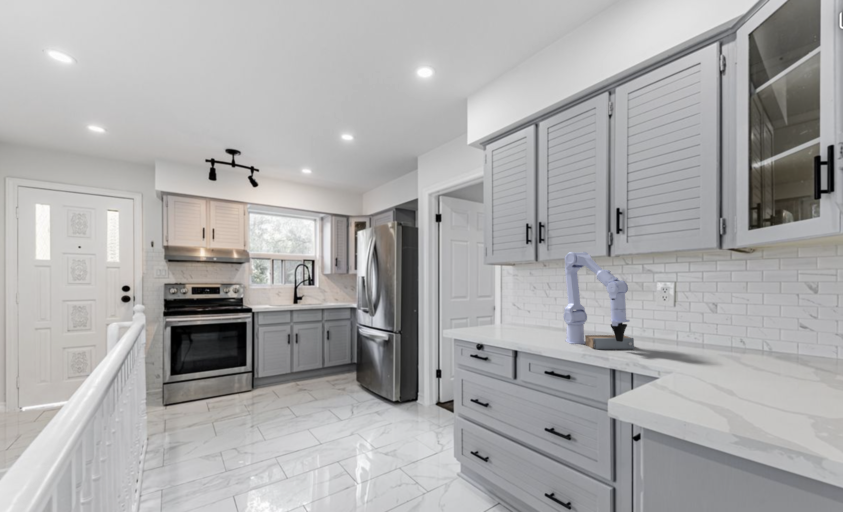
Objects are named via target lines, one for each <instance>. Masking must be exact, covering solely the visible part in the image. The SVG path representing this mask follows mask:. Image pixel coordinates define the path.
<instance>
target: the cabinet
mask: <svg viewBox="0 0 843 512" xmlns="http://www.w3.org/2000/svg"><path fill="white" fill-rule="evenodd" d="M595 338H615V334H597V335H596V334H590V335H589V334H584V341H585V342H586V344H585V346H586V347H588V348H591V349H593V350H596V349H595V348H594V344H595V343H594V342H593V339H595ZM623 338H632V337H631V336H627V335H625V334H624V337H623Z"/></svg>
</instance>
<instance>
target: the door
mask: <svg viewBox="0 0 843 512" xmlns="http://www.w3.org/2000/svg"><path fill="white" fill-rule="evenodd" d="M593 342H594V343H595V344H594V348H595V349H594V350H615V349H616V350H617V349H618V350H629V349H630V350H631V349H633V350H635V339H634V337H631V338H623V341H622V342H620V341H616V338H595V339H593Z"/></svg>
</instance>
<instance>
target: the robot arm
mask: <svg viewBox="0 0 843 512" xmlns="http://www.w3.org/2000/svg"><path fill="white" fill-rule="evenodd" d="M564 264H565V265H564V273H565V275H564V276H565V282H566V283H565V284H566V294H567V296H566V297H567V303H568V304H566V306H565V307H564V312H563V320H564V322H565V324H566V329H565V330H566V339H564V341H565V342H567V343H568V344H570V345H586V340H585V329H584V328H585V327H584V325H585V323H586V321H587V319H588V314H587V312H586V308H585V306H583V305H582V303H581V299H580V298H581V297H580V287H579V279H578V271H579V270H581V269H582V268H583V267H586V268H587V270H588V269H589V271H591V272H592V273H594V274H595V275H596V280H597V281H599V282H600V283H601V284H602V285H603V286H604V287H605V289H606V291H607V293H608V297H609V302H610V303H609V305H610V322H611V324H610V328H611V329H612V331H613V333H614V334H613V335H615V338H616V341H620V342H622V341H623V337H624V335H625V332H626V330H627V329H626V328H627V327H628V324H627V323H629V322H630V319H627V309H626V308H627V307H626V305H627V304H626V293H627V292H628V291H629V287H628V286H629V285H628V284H627V282H626V281H625V280H621V279H619V277H616V276H615V274H612V273H611V271H610V270H609V269H603V268H602V267H601V266H600V265H599V264H597V262H596V261H595V260H594V259H592V256H591V254H589V253H588V252H586V251H583V252H582V251H581V252H580V251H578V252H577V251H576V252H574V251H569V252H568V253H567V254H566V255H565V256H564Z"/></svg>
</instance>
